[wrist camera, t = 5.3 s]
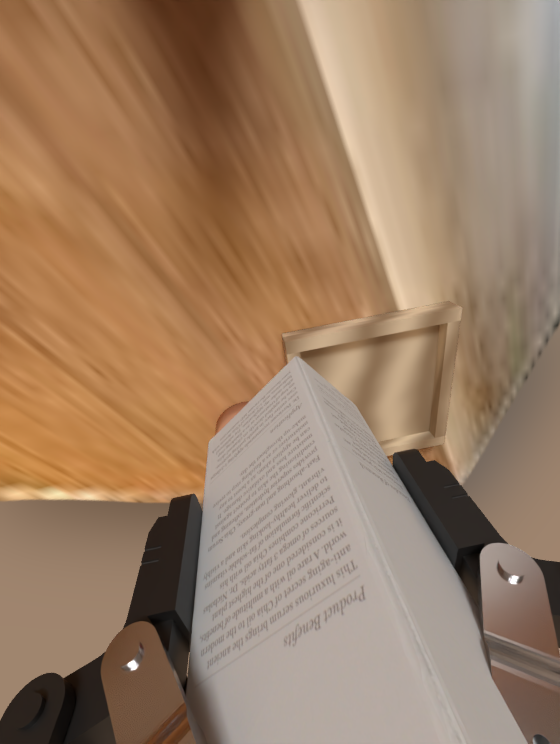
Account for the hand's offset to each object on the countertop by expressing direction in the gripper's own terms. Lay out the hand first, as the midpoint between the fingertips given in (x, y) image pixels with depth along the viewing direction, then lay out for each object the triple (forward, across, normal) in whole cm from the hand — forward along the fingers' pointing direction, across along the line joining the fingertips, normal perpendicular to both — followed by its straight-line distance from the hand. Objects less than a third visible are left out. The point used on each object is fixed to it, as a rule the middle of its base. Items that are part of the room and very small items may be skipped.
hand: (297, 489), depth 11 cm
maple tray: (+19, -10, +10) cm, 24 cm away
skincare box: (+4, 0, 0) cm, 4 cm away
